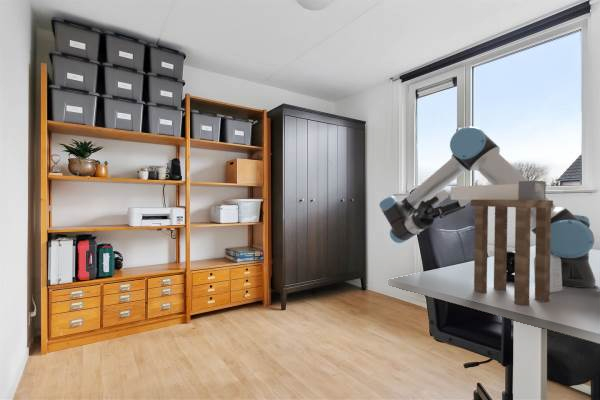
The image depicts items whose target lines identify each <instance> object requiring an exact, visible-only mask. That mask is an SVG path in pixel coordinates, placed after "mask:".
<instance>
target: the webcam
mask: <svg viewBox="0 0 600 400" xmlns="http://www.w3.org/2000/svg"><path fill="white" fill-rule="evenodd" d="M514 281H515V251H514V252H513V251H508V250H507V275H506V282H510V283H514Z"/></svg>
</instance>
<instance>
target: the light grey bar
mask: <svg viewBox="0 0 600 400" xmlns="http://www.w3.org/2000/svg"><path fill="white" fill-rule="evenodd" d="M545 197H546V181H544V180H528V181H519V184H502V185H492V184H485V185H483V184H481V185H462V186H460V185H459V186H458V185H457V186H456V185H455V186H450V200H452V201H453V200H454V201H455V200H457V201H458V200H545Z"/></svg>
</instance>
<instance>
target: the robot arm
mask: <svg viewBox="0 0 600 400" xmlns="http://www.w3.org/2000/svg"><path fill="white" fill-rule="evenodd" d="M449 148H450V152H451V153H452V154H451V158H450V159H448V161H446V162H445V163H444V164H443V165H442V166H440V167H439V168H438V169H437V170H436V171H435V172H433V174H432V175H430V176H429V177H427V179H426V180H424V181H423V182H422V183H421V184H420V185H419V186H417V187H416V188H417V189H416V188H415V189H414V190H412V192H411V194H410V193H409V194H408V195H407V196H406V197H405V198H403V199H402V200H401V201H398V200H397V198H396V197H395V196H393V195H391V196H387V197H386V198H384V199H383V200H381V201H380V202H379V203H378V204H379V208H380V210H381V212H382V213H383V215H384V216H385V218H386V220H387V222H388V223H389V225H390V229H389V236H390V239H391V240H392V241H393V242H394V243H395V244H396V243H397V244H402V243H405V242H406V241H409V240H410V239H411V238H413V237H415V236H416V235H420V233H421V232H423V231H424V230H426V229H427V228H429V227H431V226H432V225H433V224H434V221H435V219H438V218H440V219H443V218H445V217H447V216H449V215H452V214H454V213H457V212H459V211H461V210H464V209H466V205H468V204H469V203H471V200H457V201H455V202H452V203H449V204H446V205H444V206H441V205H440V206H437V205H439V204H440V203H442V202H443V201H445V200H446V199H447V198H449V195H448V193H447V191H446V190H445V188H446V187H447V186H449V185H450V184H451V183H452V182H453V181H455V180H456V179H457V178H458V177H460V176H461V175H462V174H464V172H471V171H478V172H479V173H480V174H481V175H482V176H483V177H484V178H485V179H486V181H488V182H489V183H490V185H502V184H519V181H529V179H527V178H526V177H525V176H524V174H522V173H521V172H519V171H518V170H517V168H515V167H514V166H513V165H512V164H511V163H510V162H509V161H508V160H507V159H506V158H504V157H503V156H502V155H501V154H500V152H501V151H500V150H501V149H500V146H498V145H497V143H495V141H494V140H492V139H491V138H490V137H489V136H488V135H487V134H486V133H485V132H484V131H483V129H481V128H480V127H476V126H475V127H474V126H465V127H461V128H460V129H458V130H457V131H456V132H454V134H453V135H452V137H451V138H450V141H449ZM545 200H550V199H548V197H546V196H545ZM436 206H437V207H436ZM514 208H515V209H516V207H514ZM416 209H417V210H416ZM415 210H416V211H415ZM414 211H415V212H414ZM590 227H591V223H590V219H589V217H587V216H585V215H580V214H573V213H572V212H571V211H570V210H569V209H567V208H566V207H564V206H557V205H555V204H554V203H553V208H551V238H550V252H551V253H553V254H555V255H556V256H559V257H560V259H561V271H562V286H566V287H573V288H596V283H597V282H596V281H597V280H596V277H595V275H594V272H593V270H592V267H591V265H590V261H589V258H590V253H589V252H590V251H591V250H592V248H593V246H594V245H595V244H594V243H595V236H594V233H593V231H592V230H591V228H590ZM530 232H532V233H533V234H534V236H536V208H531V222H530Z"/></svg>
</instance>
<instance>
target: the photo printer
mask: <svg viewBox="0 0 600 400" xmlns="http://www.w3.org/2000/svg"><path fill="white" fill-rule="evenodd" d="M533 267H534V268H533V269H534V271H533V272H534V276H535V257H534V258H533ZM560 291H563V285H562V271H561V259H560V257H559V256H556V255H555V254H553V253H551V252H550V294H552V293H556V292H560Z"/></svg>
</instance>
